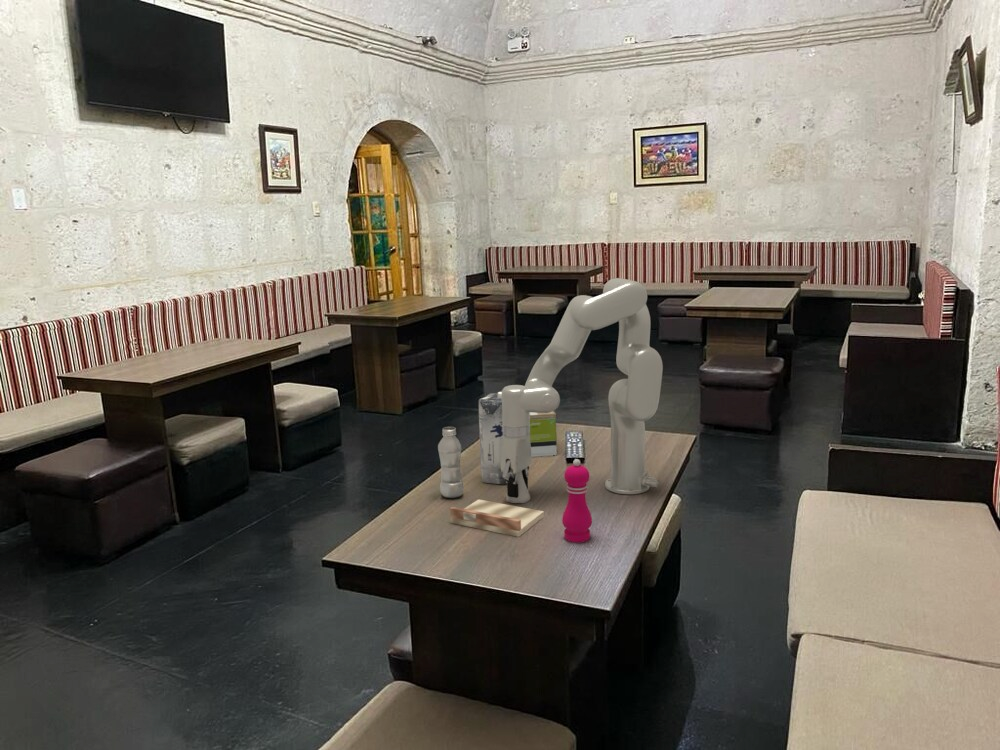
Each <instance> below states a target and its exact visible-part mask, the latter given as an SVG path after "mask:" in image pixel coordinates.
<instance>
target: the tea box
mask: <svg viewBox="0 0 1000 750" xmlns="http://www.w3.org/2000/svg"><path fill="white" fill-rule="evenodd" d="M557 438H558V437H557V414H556V412H555V410H554V411H552V412H549V413H535V412H530V444H531V458H541V456H542V458H543V457H552V456H553V455H555V456H557V455H558V453H557V452H558V450H557V449H558V447H557V445H558V443H557V441H558V440H557ZM553 457H554V456H553Z"/></svg>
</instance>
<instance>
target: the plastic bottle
mask: <svg viewBox="0 0 1000 750" xmlns="http://www.w3.org/2000/svg"><path fill="white" fill-rule="evenodd" d="M456 430H457V428H456V427H454V426H445V427H443V428H442V433H441V434H442V435H441V436H443V437H442V438H441V439H440V441H439V442H438V444H437V450H438V455H439V460H440V469H441V471H440V472H441V473H440V485H439V490H440V494H441V495H442V496H443V497H445V498H448V499H455V498H460V497H461V496H462V495H463V493H464V489H465V488H464V483H463V478H462V473H461V472H462V471H461V456H462V455H461V454H462V444H461V442H460V440H459V439H458V438H457V436H456V435H457V431H456Z"/></svg>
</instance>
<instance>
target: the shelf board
mask: <svg viewBox="0 0 1000 750" xmlns="http://www.w3.org/2000/svg"><path fill="white" fill-rule="evenodd" d="M449 515H450V523H451V524H455V525H460V526H464V527H470V528H474V529H478V530H484V531H487V532H488V531H489V532H494V533H499V534H504V535H508V536H512V537H513V536H514V537H516V538H517V537H518V538H519V537H521V536H522V535H523V534H525V532H527V531H528V530H529V529H530V528H532V527H534V526H535V525H536V524H537V523H538V522H539V521H541V520H542V519H543V518H544V517H545V511H544V510H538V509H532V508H528V507H527V508H526V507H521V506H517V505H511V504H505V503H500V502H494V501H490V500H489V501H488V500H483V499H479V498H478V499H476V500H475V501H473V502H471V504H469V505H467V506H466V507H464V508H461V507H457V506H456V507H455V506H451V507H450V508H449Z"/></svg>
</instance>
